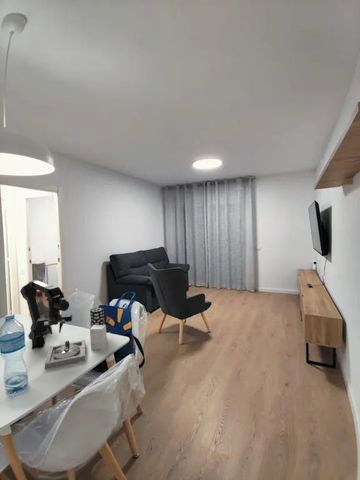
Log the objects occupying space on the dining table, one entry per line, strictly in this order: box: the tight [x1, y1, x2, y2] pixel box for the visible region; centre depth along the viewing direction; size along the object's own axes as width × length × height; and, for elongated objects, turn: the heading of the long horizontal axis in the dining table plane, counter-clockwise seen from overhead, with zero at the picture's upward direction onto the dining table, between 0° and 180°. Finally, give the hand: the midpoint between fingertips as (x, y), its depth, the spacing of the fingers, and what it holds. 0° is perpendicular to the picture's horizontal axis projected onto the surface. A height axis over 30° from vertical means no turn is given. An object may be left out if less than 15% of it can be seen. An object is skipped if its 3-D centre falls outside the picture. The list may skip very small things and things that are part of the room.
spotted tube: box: [89, 307, 105, 328], centre depth 159 cm, size 8×8×20 cm
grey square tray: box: [44, 339, 87, 370], centre depth 140 cm, size 20×20×3 cm
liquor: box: [36, 290, 50, 335], centre depth 171 cm, size 9×9×30 cm
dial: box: [53, 340, 80, 360], centre depth 140 cm, size 14×14×4 cm
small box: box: [89, 324, 108, 351], centre depth 149 cm, size 8×6×13 cm
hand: (55, 333), depth 143 cm, fingers open, 4 cm apart
